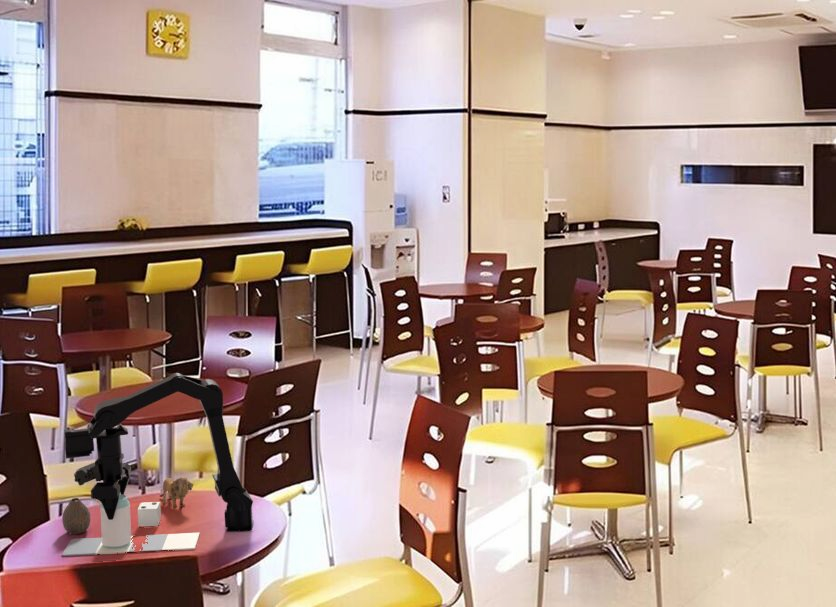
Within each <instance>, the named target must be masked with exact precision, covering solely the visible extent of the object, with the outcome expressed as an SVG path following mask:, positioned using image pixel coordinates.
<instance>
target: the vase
mask: <svg viewBox="0 0 836 607" xmlns="http://www.w3.org/2000/svg"><path fill="white" fill-rule="evenodd" d="M61 520H62V525H63V528H64V530H65V531H66V532H67V533H69V534H70V535H73V536H74V535H81V534H83V533H85V532H86V531H87V530H88V529H89V527H90V525H91V512H90V511H89V509H88V507H87V506H86V504H84V503H83V501H82V500H81V498H79V497H73V498H71V499H69V502H68V504H67V506H65V508H64V510H63V512H62V517H61Z"/></svg>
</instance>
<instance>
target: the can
mask: <svg viewBox="0 0 836 607" xmlns="http://www.w3.org/2000/svg"><path fill="white" fill-rule="evenodd" d="M127 497H128V496H127V495H125V494H124V495H123V494H120V498H119V501H118V504H117V508H116V511H115V515H114V518H113V520H109V519H108V517H107V515H106V512H105V510H104V507H103V505H102V503H100V509H99V510H100V530H101V538H102V544H103V545H104V546H106V547H109V548H119V547H123V546H126V545H127V544H128V543H129V542H130V541H131V536H132V526H131V503H130V501H129V500H128V498H127Z"/></svg>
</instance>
